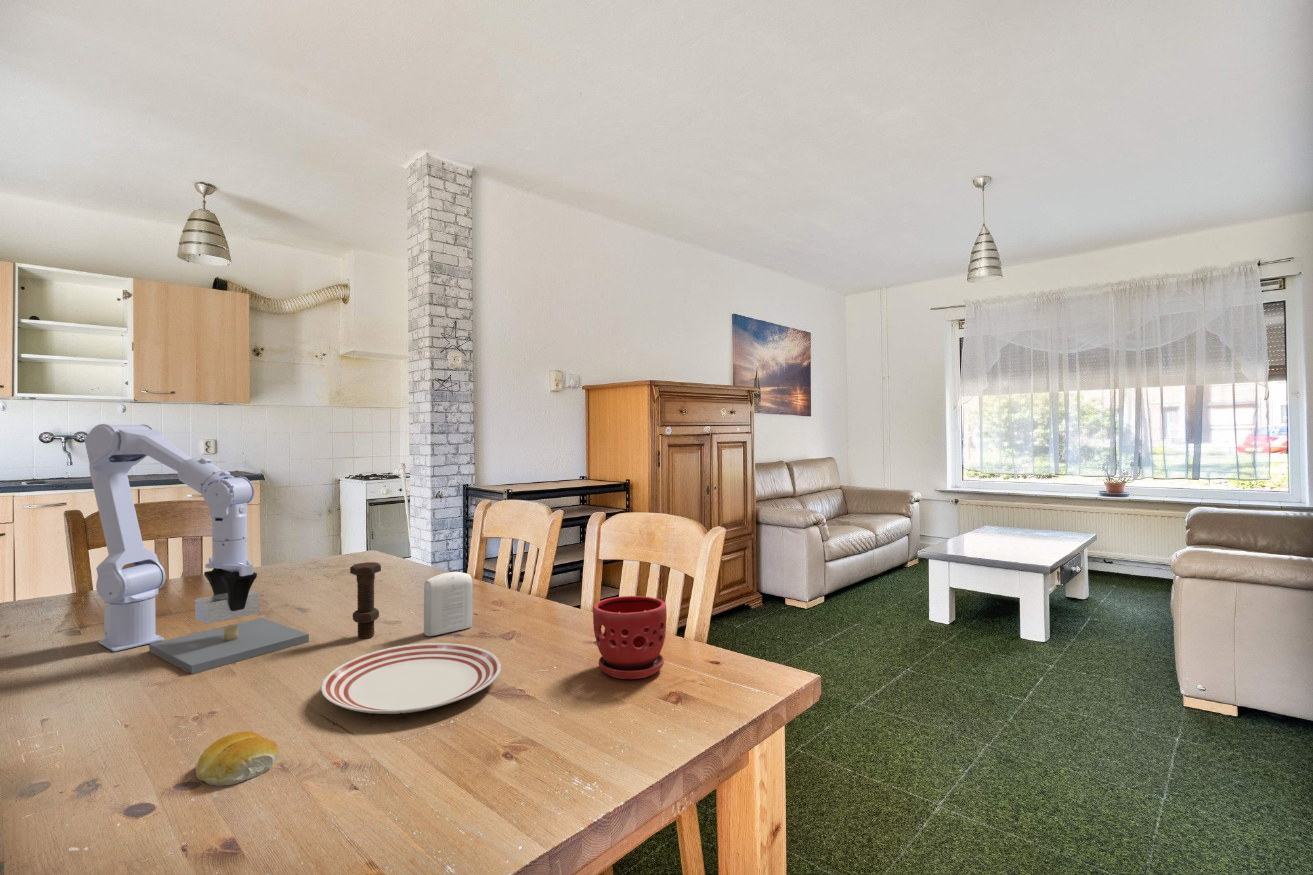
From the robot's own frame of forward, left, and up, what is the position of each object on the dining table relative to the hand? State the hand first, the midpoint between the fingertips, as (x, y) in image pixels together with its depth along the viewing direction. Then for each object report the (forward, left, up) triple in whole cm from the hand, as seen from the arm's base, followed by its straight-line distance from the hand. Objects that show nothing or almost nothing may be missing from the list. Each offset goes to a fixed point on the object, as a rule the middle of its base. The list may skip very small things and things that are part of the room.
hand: (230, 607), depth 121 cm
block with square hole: (0, -1, -2) cm, 2 cm away
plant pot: (+73, +34, -8) cm, 81 cm away
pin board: (0, 0, -8) cm, 8 cm away
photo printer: (+28, +30, -8) cm, 42 cm away
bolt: (+17, +18, -8) cm, 26 cm away
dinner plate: (+48, +8, -8) cm, 49 cm away
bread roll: (+50, -19, -8) cm, 54 cm away
